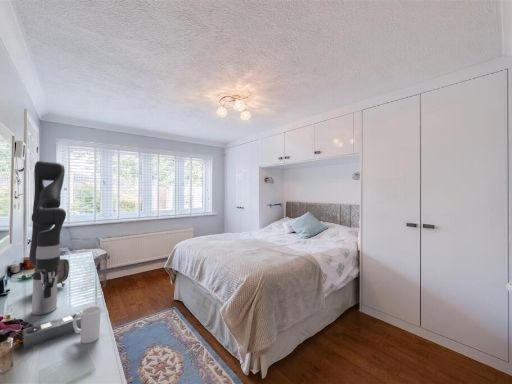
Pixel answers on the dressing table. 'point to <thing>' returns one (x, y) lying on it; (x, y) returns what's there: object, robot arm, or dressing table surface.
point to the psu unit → (49, 330)
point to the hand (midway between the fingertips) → (47, 297)
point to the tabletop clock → (61, 271)
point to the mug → (88, 324)
